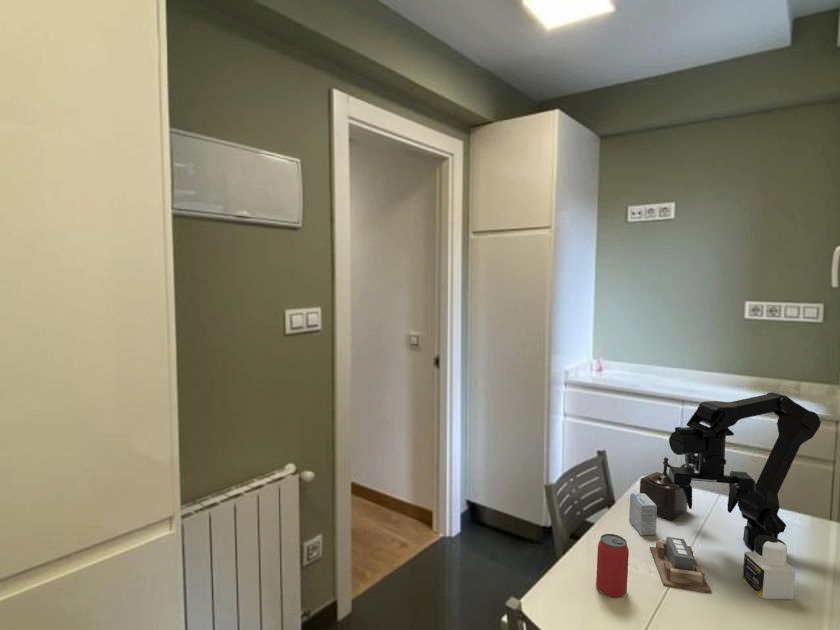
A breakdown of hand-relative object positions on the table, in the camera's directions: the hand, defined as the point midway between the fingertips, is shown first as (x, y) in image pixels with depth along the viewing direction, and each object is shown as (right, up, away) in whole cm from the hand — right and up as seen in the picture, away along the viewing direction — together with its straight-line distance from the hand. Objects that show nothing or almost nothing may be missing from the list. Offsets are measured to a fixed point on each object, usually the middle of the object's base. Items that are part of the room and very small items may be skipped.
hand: (709, 510), depth 129 cm
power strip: (-12, -11, -7) cm, 18 cm away
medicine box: (-12, -10, +12) cm, 20 cm away
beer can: (-32, -12, -16) cm, 37 cm away
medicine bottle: (+5, -13, -15) cm, 20 cm away
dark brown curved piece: (+1, -10, +21) cm, 24 cm away
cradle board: (-12, -12, -7) cm, 18 cm away
